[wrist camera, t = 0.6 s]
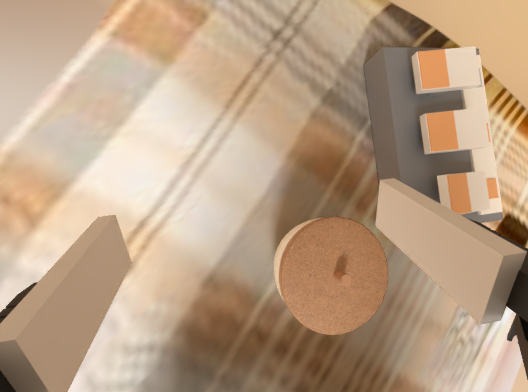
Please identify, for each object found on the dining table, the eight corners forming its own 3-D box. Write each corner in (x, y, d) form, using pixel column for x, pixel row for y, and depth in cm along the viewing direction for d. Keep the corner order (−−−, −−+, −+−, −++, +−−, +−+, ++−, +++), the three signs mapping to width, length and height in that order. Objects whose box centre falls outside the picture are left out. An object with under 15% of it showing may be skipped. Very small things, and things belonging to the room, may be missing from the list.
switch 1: (473, 88, 31) (482, 84, 30) (416, 94, 31) (422, 89, 29) (468, 51, 31) (476, 45, 30) (411, 56, 31) (417, 50, 30)
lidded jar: (275, 206, 32) (303, 203, 22) (355, 227, 34) (410, 232, 24) (253, 297, 30) (273, 334, 21) (337, 313, 32) (389, 353, 23)
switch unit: (472, 218, 37) (513, 219, 32) (385, 231, 34) (415, 235, 29) (450, 65, 38) (488, 42, 33) (363, 65, 35) (389, 40, 30)
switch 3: (480, 209, 31) (492, 208, 30) (442, 216, 29) (453, 216, 28) (475, 172, 32) (486, 170, 31) (436, 175, 29) (447, 174, 28)
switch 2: (482, 148, 31) (491, 146, 29) (424, 154, 30) (431, 152, 29) (476, 110, 31) (485, 106, 30) (419, 116, 30) (426, 112, 29)
